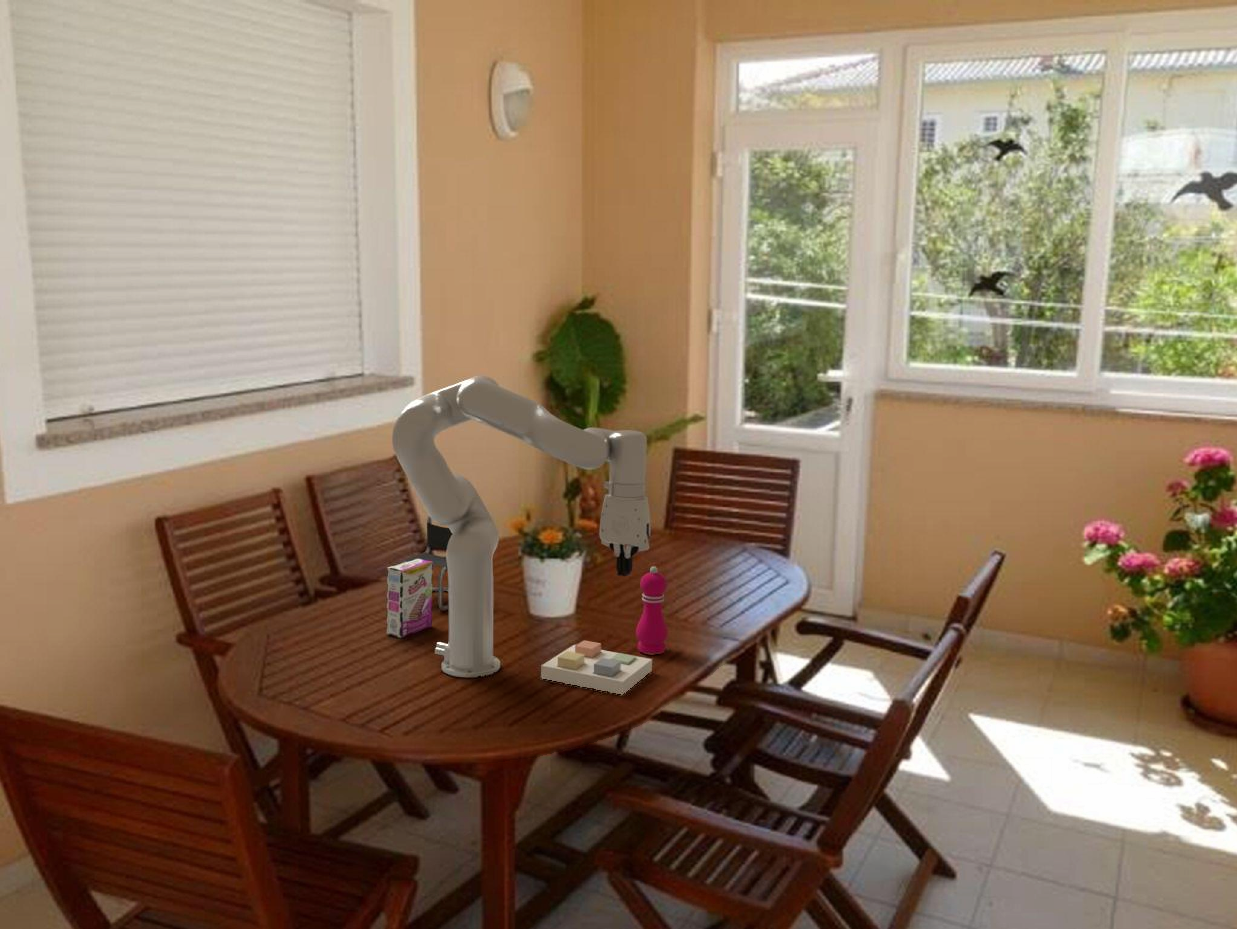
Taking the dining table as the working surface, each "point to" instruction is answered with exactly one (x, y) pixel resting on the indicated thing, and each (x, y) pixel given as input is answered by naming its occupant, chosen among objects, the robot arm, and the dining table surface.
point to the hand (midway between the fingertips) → (624, 574)
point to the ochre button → (571, 660)
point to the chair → (439, 540)
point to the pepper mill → (652, 613)
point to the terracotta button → (588, 649)
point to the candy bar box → (409, 597)
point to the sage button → (624, 658)
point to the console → (591, 680)
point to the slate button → (607, 667)
